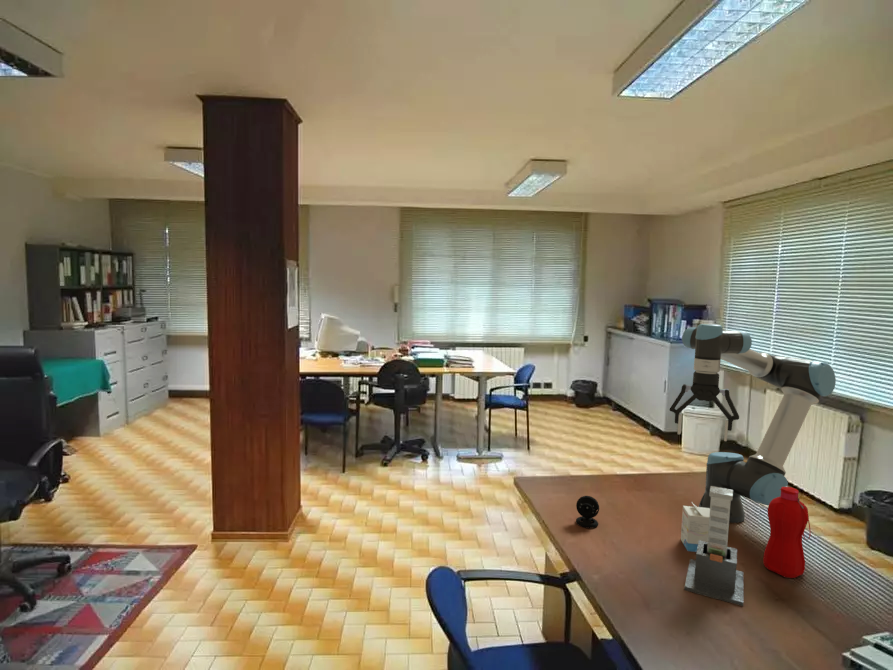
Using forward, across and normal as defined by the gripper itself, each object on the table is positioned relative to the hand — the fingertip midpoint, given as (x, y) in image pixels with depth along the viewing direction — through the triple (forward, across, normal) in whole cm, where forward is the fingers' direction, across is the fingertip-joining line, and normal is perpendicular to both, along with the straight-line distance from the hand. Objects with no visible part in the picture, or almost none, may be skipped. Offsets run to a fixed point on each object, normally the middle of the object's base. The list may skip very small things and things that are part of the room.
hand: (701, 436), depth 171 cm
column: (+27, +7, -26) cm, 39 cm away
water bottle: (+35, +25, -8) cm, 44 cm away
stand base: (+35, +7, -26) cm, 44 cm away
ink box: (+35, +1, -5) cm, 35 cm away
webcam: (+35, -34, -8) cm, 49 cm away
